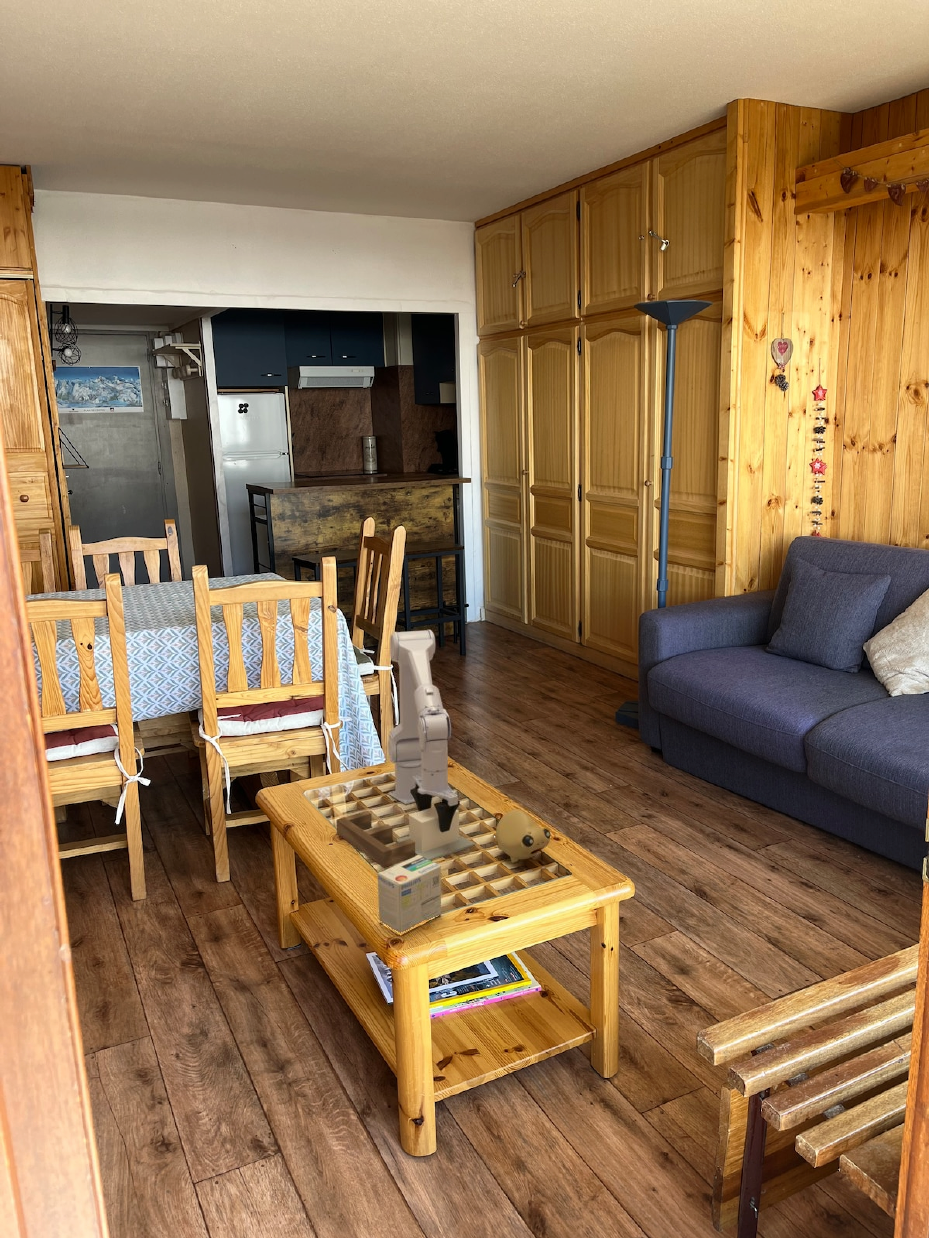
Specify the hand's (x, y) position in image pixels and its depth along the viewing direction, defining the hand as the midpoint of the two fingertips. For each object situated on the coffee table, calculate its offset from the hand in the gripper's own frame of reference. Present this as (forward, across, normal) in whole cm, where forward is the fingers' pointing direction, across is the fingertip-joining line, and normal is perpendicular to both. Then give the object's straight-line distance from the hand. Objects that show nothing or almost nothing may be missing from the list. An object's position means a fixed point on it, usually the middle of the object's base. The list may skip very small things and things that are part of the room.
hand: (434, 824), depth 211 cm
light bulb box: (+5, +23, -22) cm, 32 cm away
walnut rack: (+5, -7, -11) cm, 14 cm away
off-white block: (+4, 0, 0) cm, 4 cm away
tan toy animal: (+5, +17, +11) cm, 21 cm away
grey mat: (+5, 0, 0) cm, 5 cm away
